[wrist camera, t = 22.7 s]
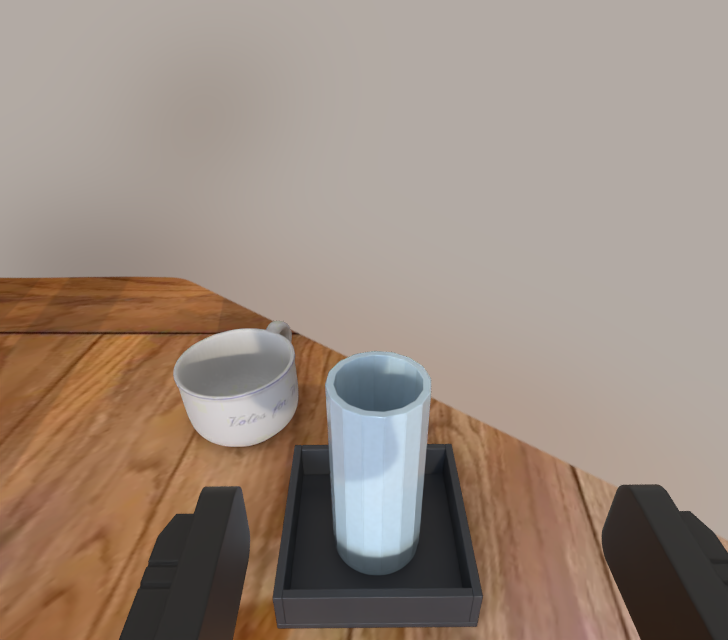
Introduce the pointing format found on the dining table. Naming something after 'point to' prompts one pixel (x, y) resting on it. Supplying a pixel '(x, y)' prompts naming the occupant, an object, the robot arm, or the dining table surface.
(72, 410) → the dining table surface
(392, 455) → the tumbler
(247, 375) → the teacup
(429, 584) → the tray
